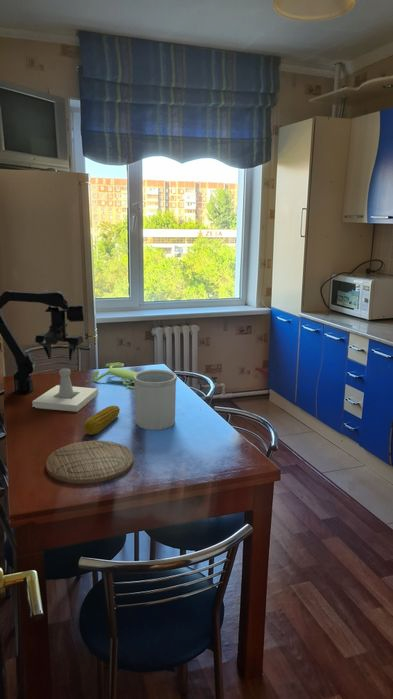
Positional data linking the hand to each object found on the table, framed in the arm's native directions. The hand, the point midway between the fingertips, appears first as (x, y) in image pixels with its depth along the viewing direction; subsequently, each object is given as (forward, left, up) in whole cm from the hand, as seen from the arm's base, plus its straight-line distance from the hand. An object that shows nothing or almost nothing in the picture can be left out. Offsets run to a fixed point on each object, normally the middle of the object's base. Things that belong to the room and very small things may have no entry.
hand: (60, 359), depth 210 cm
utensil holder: (+48, -25, -13) cm, 56 cm away
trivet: (+38, -59, -14) cm, 72 cm away
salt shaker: (+8, -12, -13) cm, 20 cm away
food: (+31, -32, -13) cm, 46 cm away
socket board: (+8, -12, -13) cm, 19 cm away
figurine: (+19, +19, -14) cm, 30 cm away
